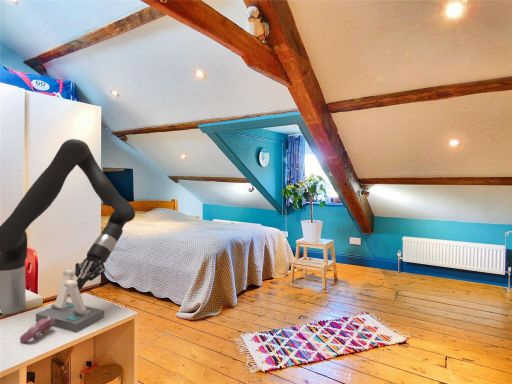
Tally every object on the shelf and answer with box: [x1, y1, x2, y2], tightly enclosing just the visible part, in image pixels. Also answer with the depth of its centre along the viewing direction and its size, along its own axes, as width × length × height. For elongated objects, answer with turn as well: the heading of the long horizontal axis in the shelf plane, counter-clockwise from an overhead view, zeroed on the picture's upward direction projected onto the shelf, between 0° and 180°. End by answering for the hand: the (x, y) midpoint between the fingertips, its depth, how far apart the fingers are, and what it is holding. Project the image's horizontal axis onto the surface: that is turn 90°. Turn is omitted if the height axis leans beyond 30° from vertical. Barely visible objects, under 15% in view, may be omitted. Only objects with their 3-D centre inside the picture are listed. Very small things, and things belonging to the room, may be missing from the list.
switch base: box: [35, 301, 105, 333], centre depth 119 cm, size 20×12×5 cm, turn 70°
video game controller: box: [19, 317, 56, 343], centre depth 107 cm, size 10×5×7 cm, turn 170°
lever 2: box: [64, 280, 87, 314], centre depth 115 cm, size 4×2×14 cm, turn 70°
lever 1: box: [54, 268, 75, 309], centre depth 123 cm, size 4×2×14 cm, turn 70°
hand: (76, 289), depth 114 cm, fingers closed
